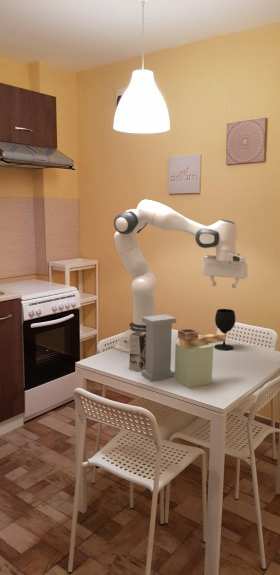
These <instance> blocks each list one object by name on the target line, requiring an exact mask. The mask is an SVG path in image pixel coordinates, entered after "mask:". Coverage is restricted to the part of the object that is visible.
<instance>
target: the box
mask: <svg viewBox="0 0 280 575" xmlns="http://www.w3.org/2000/svg"><path fill="white" fill-rule="evenodd" d="M174 352H175V354H174V356H175V357H174V372H175V376H174V381H176V382H177V383H179V384H180V385H182V386H185V387H186V388H188V389H189V388H195V387H199V386H203V385H208V384H212V383H213V365H214V364H213V360H214V346H213V345H212V344H211V343H210V344H204V345H198V346H192V347H186V348H183V347H181V346H180V342H178V343H177V342H176V343H175V351H174Z"/></svg>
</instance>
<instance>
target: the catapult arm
mask: <svg viewBox="0 0 280 575" xmlns="http://www.w3.org/2000/svg"><path fill="white" fill-rule="evenodd" d="M177 339H179V343H180V346H181V347H183V348H186V347H192V346H198V345H204V344H210V345H211V344H215V343H216V344H217V343H221V342H222V343H223V341H225V342H227V333H226V334H224V333H223V332H222V331H220V332H216V333H215V332H214V333H209V334H204V335H202V334H201V335H199V331H198V330H195V329H193V328H190V327H189V328H183V329H182V328H181V329H178V330H177Z"/></svg>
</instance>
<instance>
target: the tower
mask: <svg viewBox="0 0 280 575" xmlns="http://www.w3.org/2000/svg"><path fill="white" fill-rule="evenodd" d="M142 322H144V323H146V368H145V369H143V370H141V371H140V372H141V377H143V378H144V379H146V380H147V381H149V382H155V381H161V380H164V379H170V378H175V371H174V370H172V369H171V364H172V363H171V362H172V361H171V360H172V332H173V331H172V330H173V329H172V327H173V325H172V324H176V323H177V318H176V317H174V316H172V315H169V314H157V315H156V314H155V316H147V317H142Z"/></svg>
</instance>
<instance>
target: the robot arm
mask: <svg viewBox="0 0 280 575" xmlns="http://www.w3.org/2000/svg"><path fill="white" fill-rule="evenodd" d="M148 224H149V225H150V226H153V227H155V228H156V229H160V230H164V231H178V232H179V231H180V232H183V233H187V234H190V235H192V236H194V237H195V239H194V240H195V243H196V244H197V246H199V247H200V248H203V249H211V248H215V255H206V256H204V258H203V268H202V274H203V275H204V276H208V277H209V280H210V281H211V286H212V287H216V286H217V281H215V279H214V278H215V277H219V278H230V279H231V278H232V279H234V280H235V281H234V283H232V286H231V288H232V289H237V286H238V283H239V281H240V279H243V280H245V279H246V278H248V275H249V274H248V273H249V270H248V269H249V268H248V263H247V262H246V260H247V256H245V255H243V254H241V253H238V252H237V247H236V243H237V239H238V238H237V236H238V235H237V233H238V232H237V231H238V230H237V224H236V223H235V222H234V221H231V220H227V219H218V221H217V222H215V223H213V224H211V225H204V224H201V223H199V222H198V221H194V220H193V219H190V218H187V217H185V216H184V215H183V214H181V213H179V212H177V211H175V209H172V208H171V207H169V206H167V205H165V204H163V203H161V202H157V201H154V200H150V199H143V200H141V201H140V202H139V203H138V205H137V207H136V208H132V209H127V210H125V211H122V212H120V213H118V214H117V215H116V216H115V217H114V220H113V227H114V229H115V231H116V232H115V233H114V234H113V242H114V245H115V249H116V251H117V254H118V256H119V258H120V260H121V263H122V265H123V267H124V269H125V270H126V271H127V272H128V274H129V276H130V278H131V279H132V282H131V285H130V292H131V299H132V307H133V308H132V309H133V311H132V312H133V313H132V314H133V315H132V317H133V318H132V319H133V321H132V322H130V323H128V327H129V329H128V330H126V331H124V333H122V334H121V335H120V336H119V339H118V342H117V343H115V344H114V349H116V350H119V351H122V352H127V353H129V354H130V334H132V333H135V332H137V331H139V330H140V331H146V323H144V322H142V317H147V316H156V307H155V299H154V297H155V296H154V293H155V291H156V289H157V288H158V279H157V277H156V276H155V273H153V271H152V269H151V266H150V265H149V264H148V262H147V261H146V258H145V256H144V255H143V251H142V249H141V247H140V245H139V244H138V240H137V237H136V235H137V234H139V233H140V232H141V231H143V229H144V228H145V227H146V226H147V225H148Z"/></svg>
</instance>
